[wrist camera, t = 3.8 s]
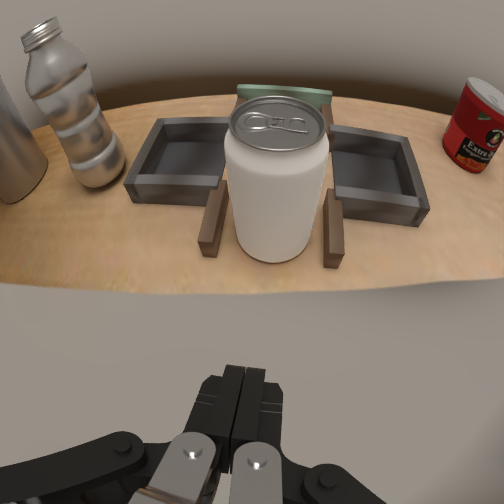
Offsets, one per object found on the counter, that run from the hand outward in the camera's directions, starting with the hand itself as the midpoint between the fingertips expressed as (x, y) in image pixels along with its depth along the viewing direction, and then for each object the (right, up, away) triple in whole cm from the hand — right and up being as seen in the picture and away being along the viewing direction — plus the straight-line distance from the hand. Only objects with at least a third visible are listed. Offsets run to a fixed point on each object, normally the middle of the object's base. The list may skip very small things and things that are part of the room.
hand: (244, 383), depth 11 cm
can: (+2, +7, +16) cm, 17 cm away
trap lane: (+3, +13, +19) cm, 23 cm away
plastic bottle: (-17, +14, +20) cm, 30 cm away
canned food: (+30, +19, +21) cm, 41 cm away
